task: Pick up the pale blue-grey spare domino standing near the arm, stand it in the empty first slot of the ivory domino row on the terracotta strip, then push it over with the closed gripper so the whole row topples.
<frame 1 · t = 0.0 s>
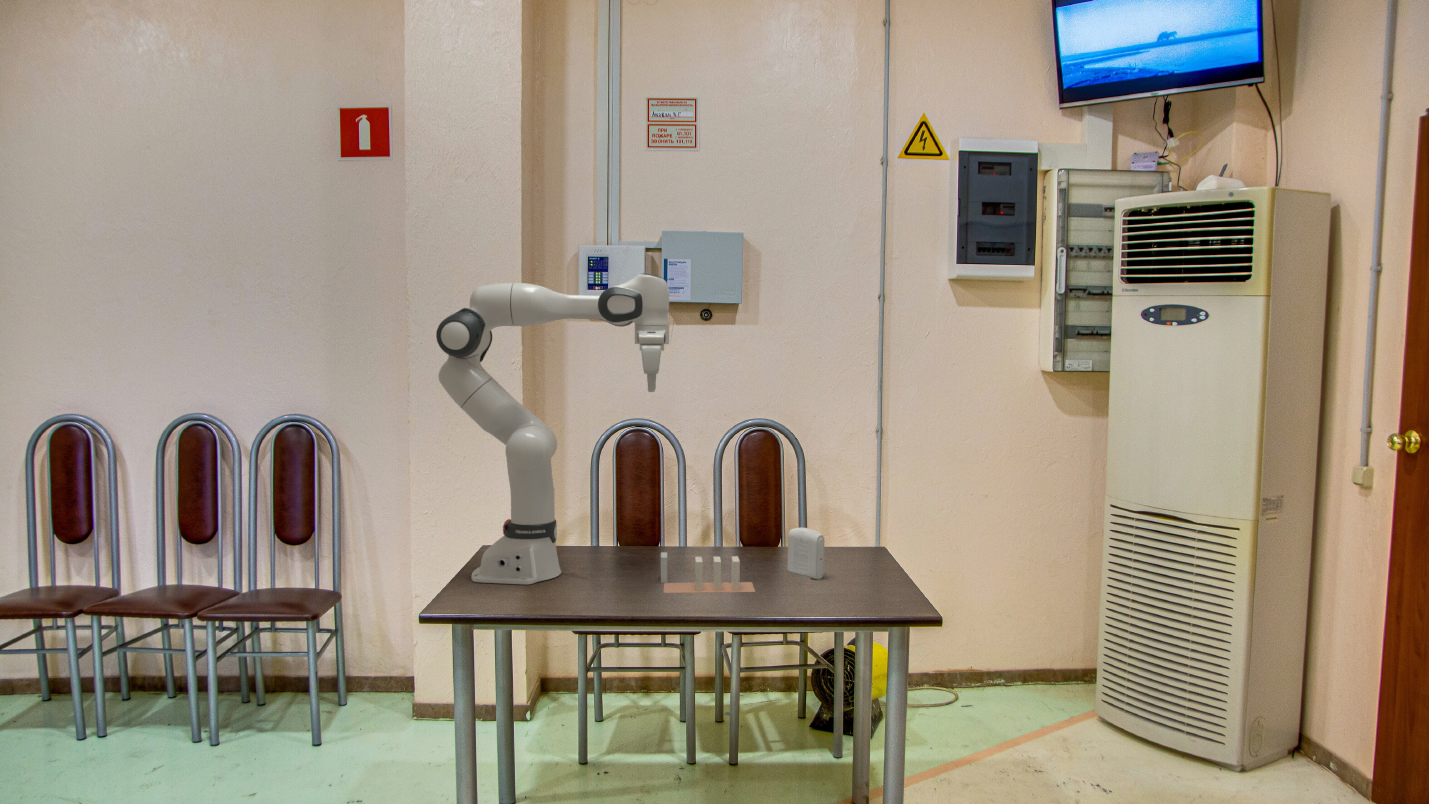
hand: (651, 391, 203), 48 cm above the table, fingers open, 8 cm apart
domino 3: (717, 587, 192), point 1 cm above the table, touching strip
domino 2: (698, 587, 192), point 1 cm above the table, touching strip
spare domino: (664, 582, 198), on the table
strip: (708, 589, 192), on the table
domino 5: (735, 587, 192), point 1 cm above the table, touching strip
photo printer: (805, 575, 205), on the table
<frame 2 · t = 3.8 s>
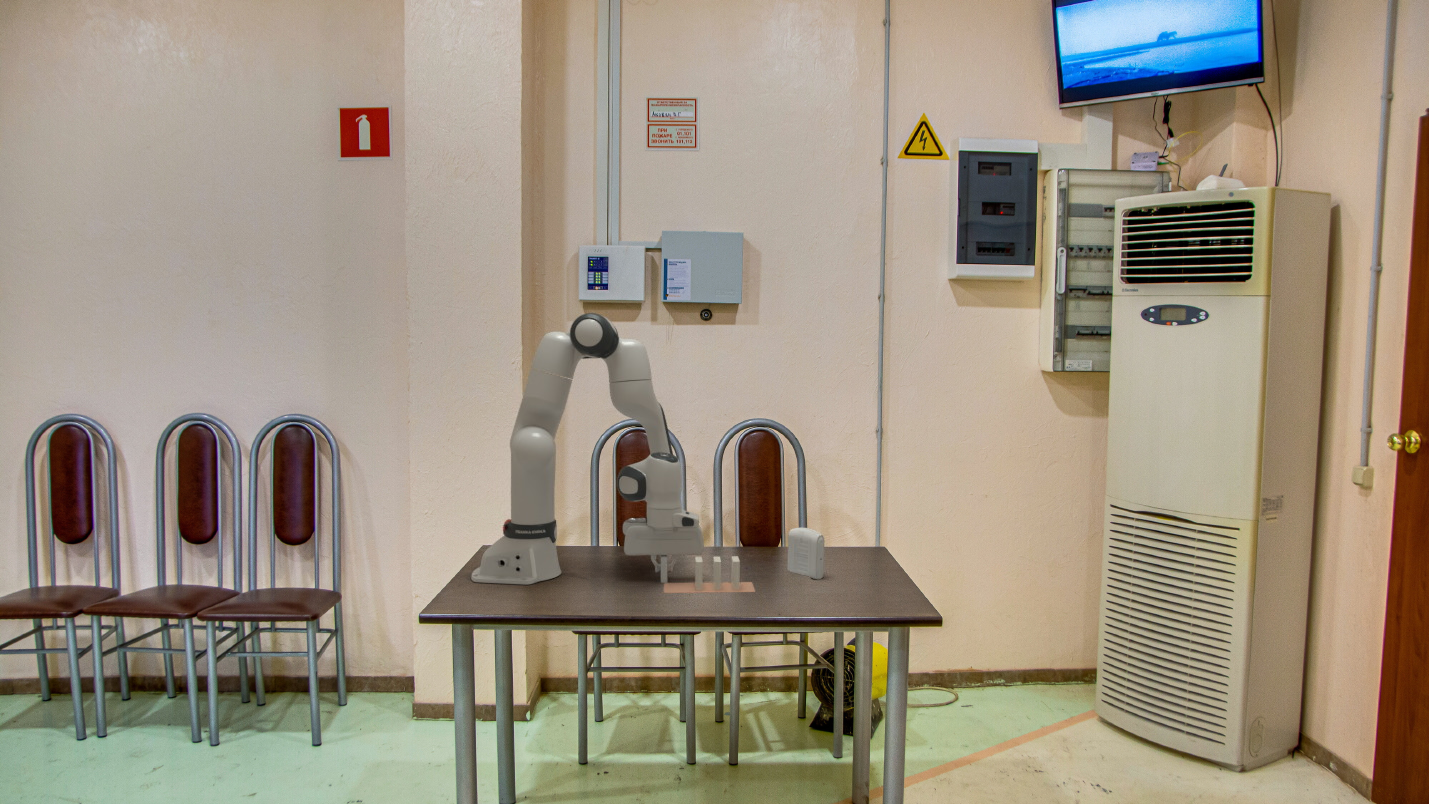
hand: (664, 571, 198), 3 cm above the table, fingers closed on spare domino, 2 cm apart
spare domino: (664, 582, 198), on the table, touching gripper
everything else where it was.
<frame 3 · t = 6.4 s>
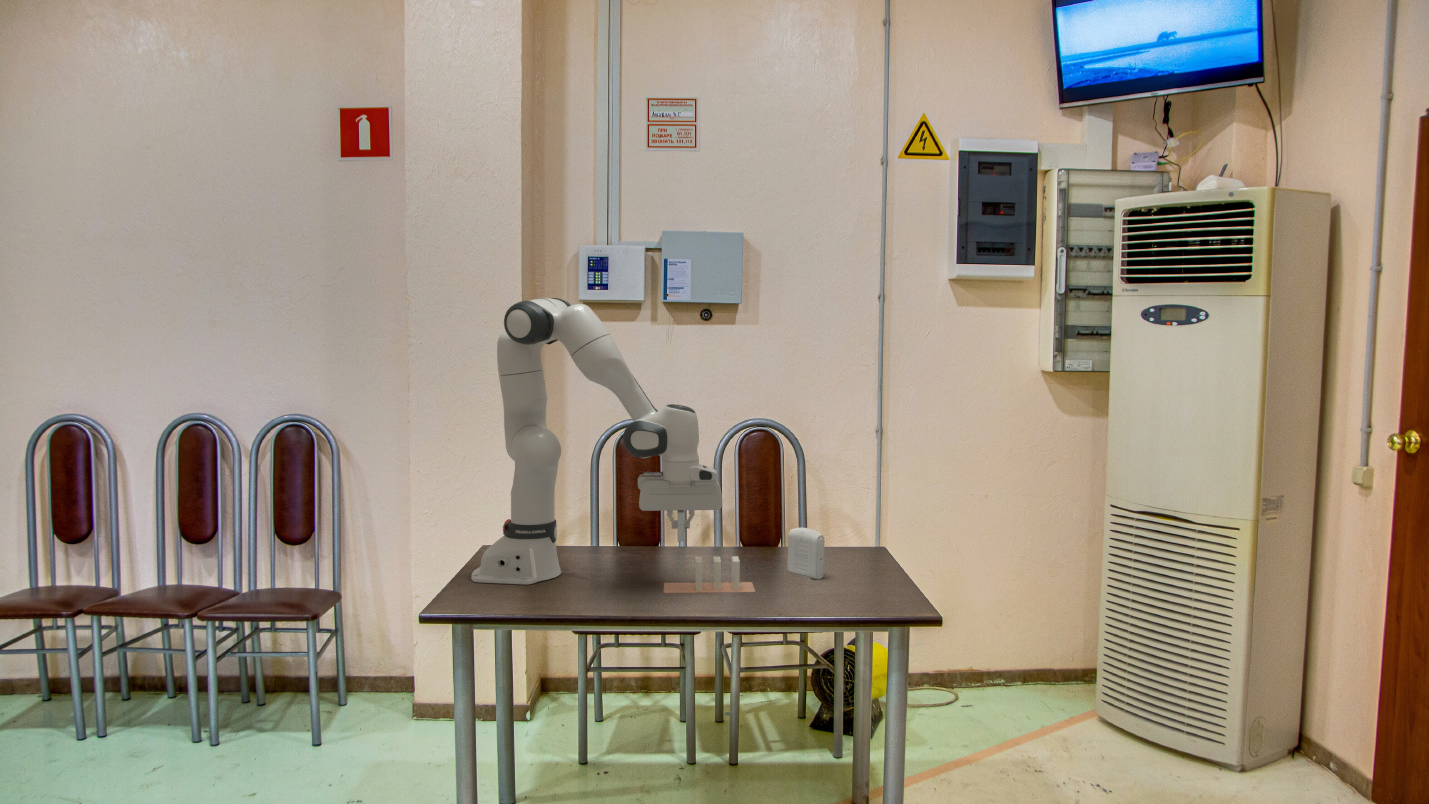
hand: (680, 528, 190), 15 cm above the table, fingers closed on spare domino
spare domino: (680, 538, 191), point 13 cm above the table, touching gripper
everything else where it was.
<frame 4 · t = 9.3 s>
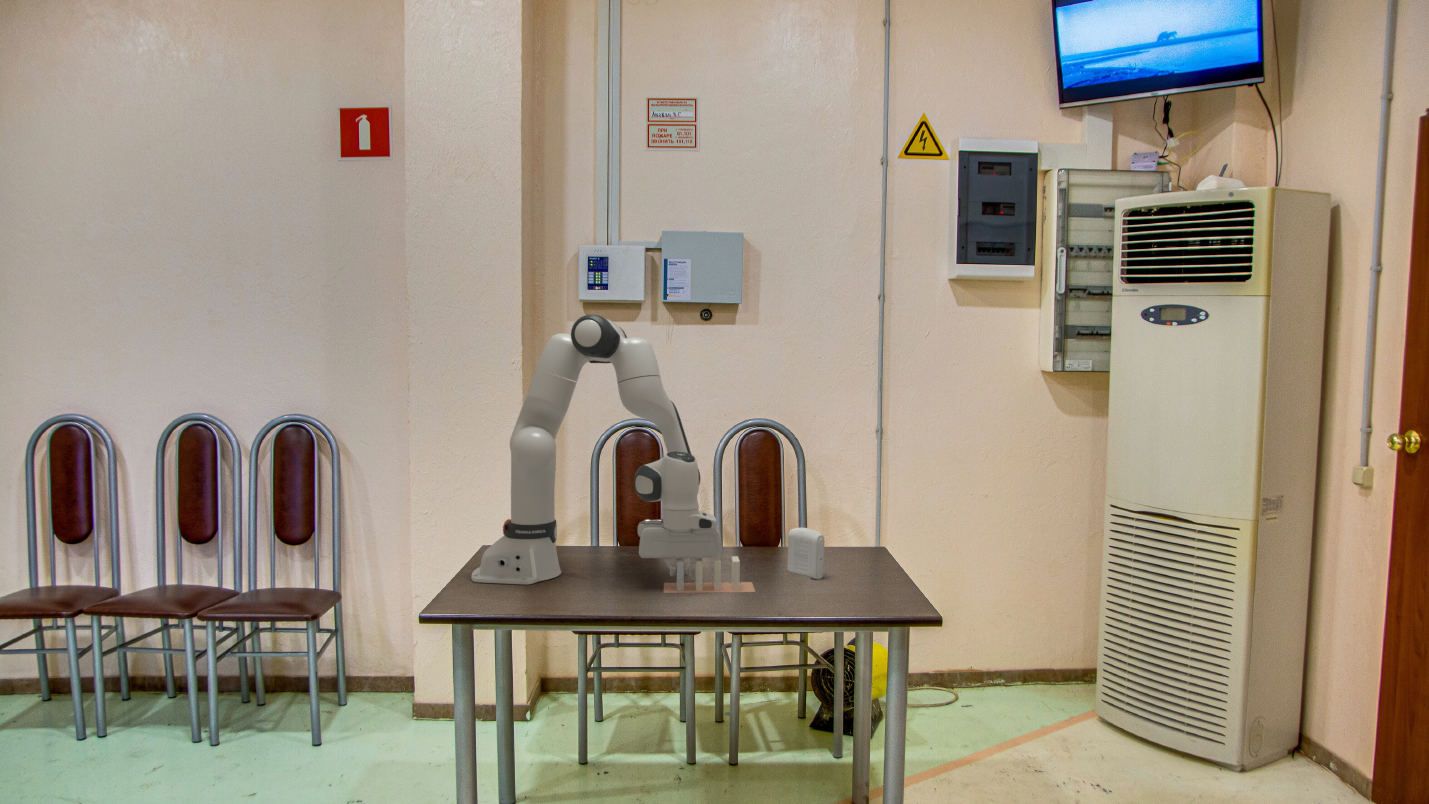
hand: (680, 575, 191), 4 cm above the table, fingers closed
domino 2: (698, 587, 192), point 1 cm above the table, touching gripper, strip
spare domino: (680, 587, 192), point 1 cm above the table, touching strip
everything else where it was.
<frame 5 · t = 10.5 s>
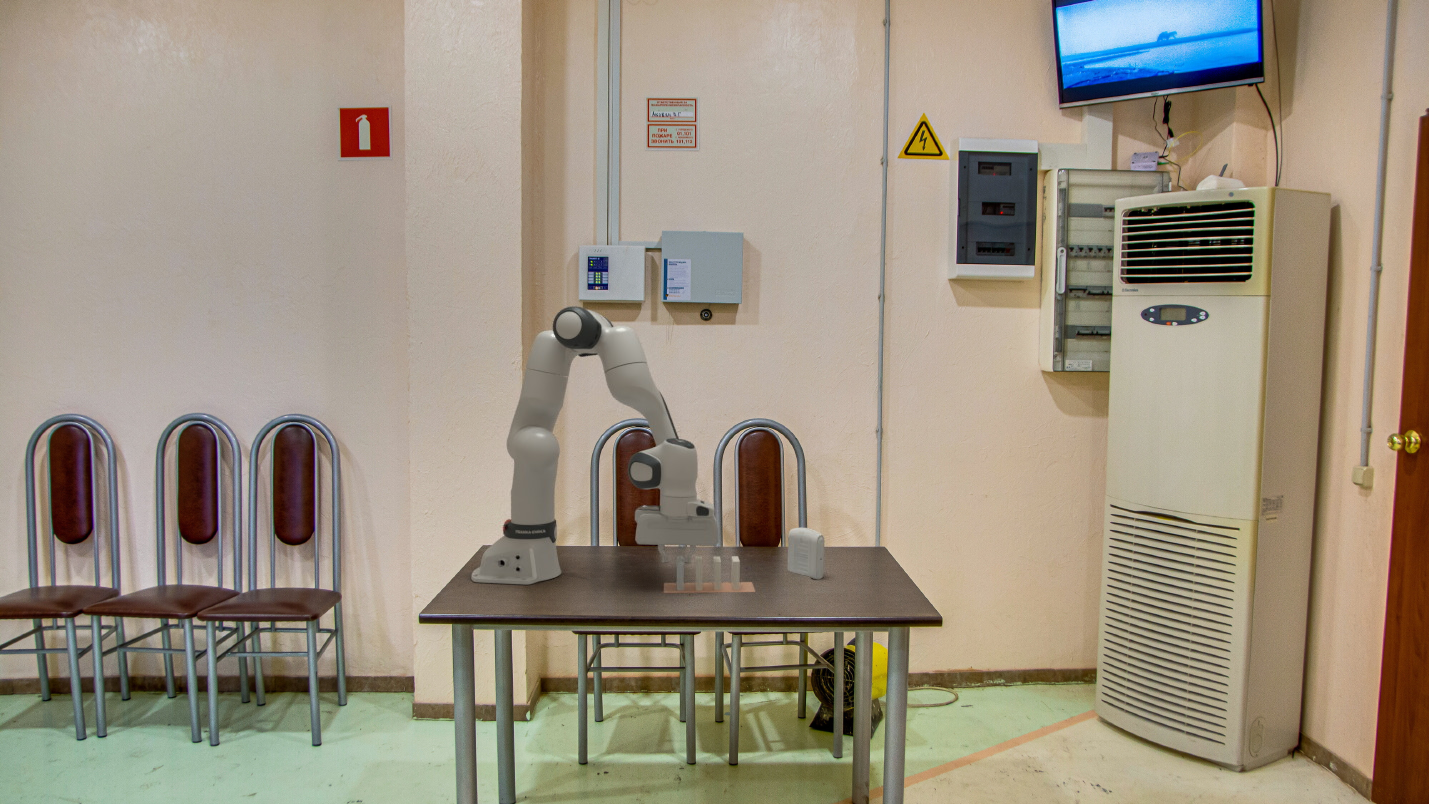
hand: (676, 562, 190), 7 cm above the table, fingers open, 4 cm apart
domino 2: (698, 587, 192), point 1 cm above the table, touching strip
everything else where it was.
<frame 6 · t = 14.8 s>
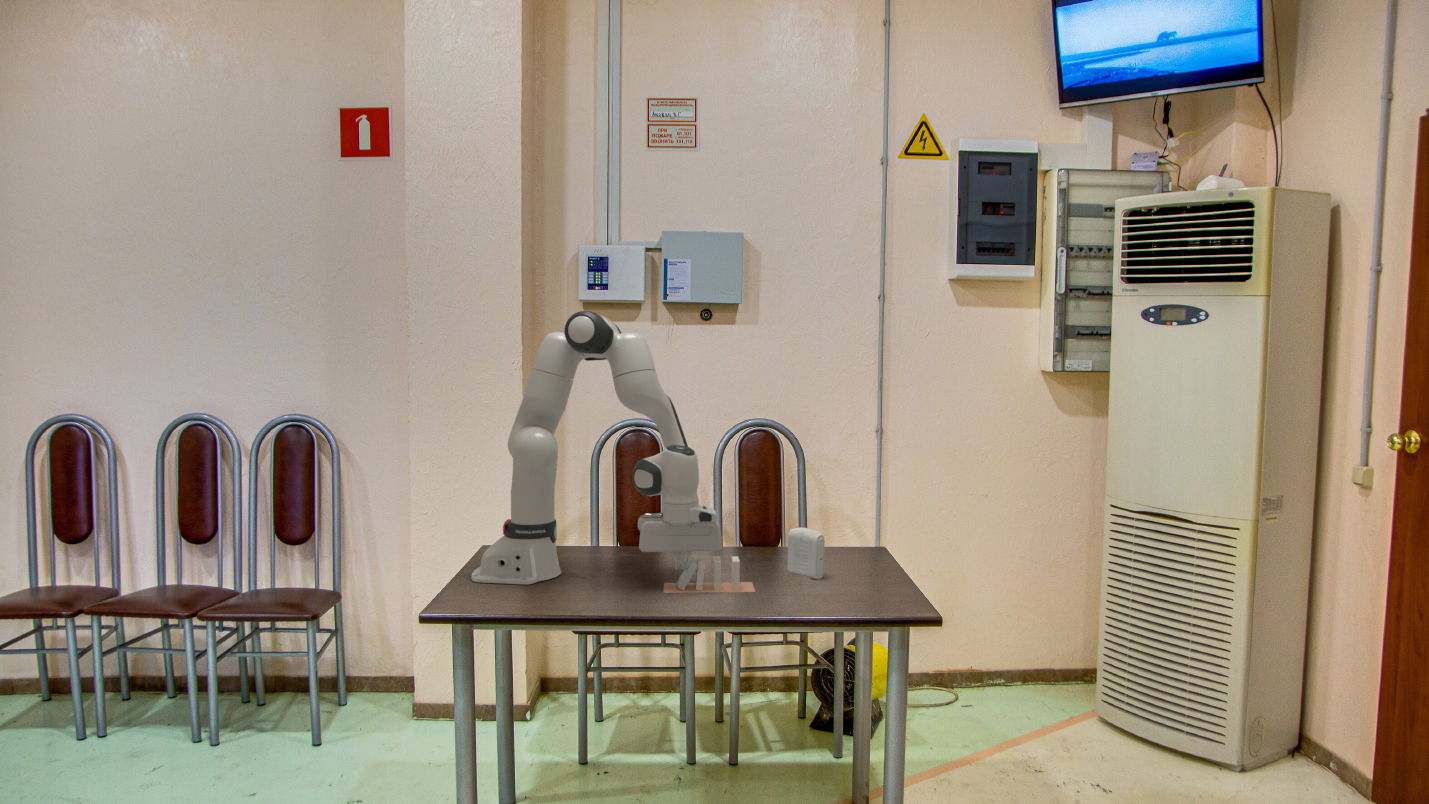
hand: (680, 568, 191), 5 cm above the table, fingers closed
spare domino: (680, 585, 192), point 1 cm above the table, tilted 30°, touching gripper, strip
everything else where it was.
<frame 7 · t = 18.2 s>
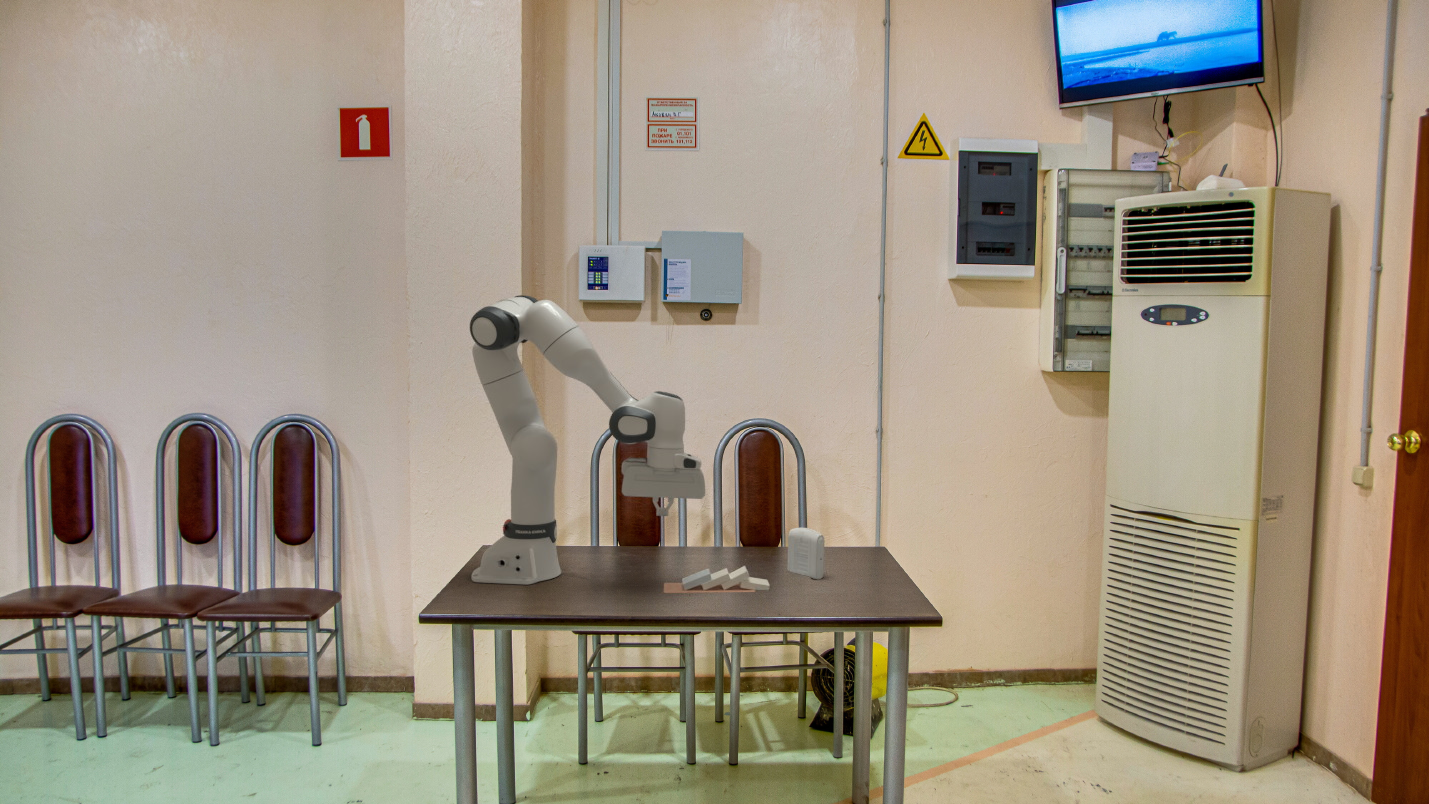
hand: (662, 515, 190), 18 cm above the table, fingers closed
domino 3: (721, 584, 192), point 1 cm above the table, tilted 63°, touching domino 2, domino 5, strip
domino 2: (702, 584, 192), point 1 cm above the table, tilted 68°, touching domino 3, spare domino, strip
spare domino: (683, 584, 192), point 1 cm above the table, tilted 69°, touching domino 2, strip
domino 5: (740, 581, 192), point 2 cm above the table, tilted 100°, touching domino 3, strip
everything else where it was.
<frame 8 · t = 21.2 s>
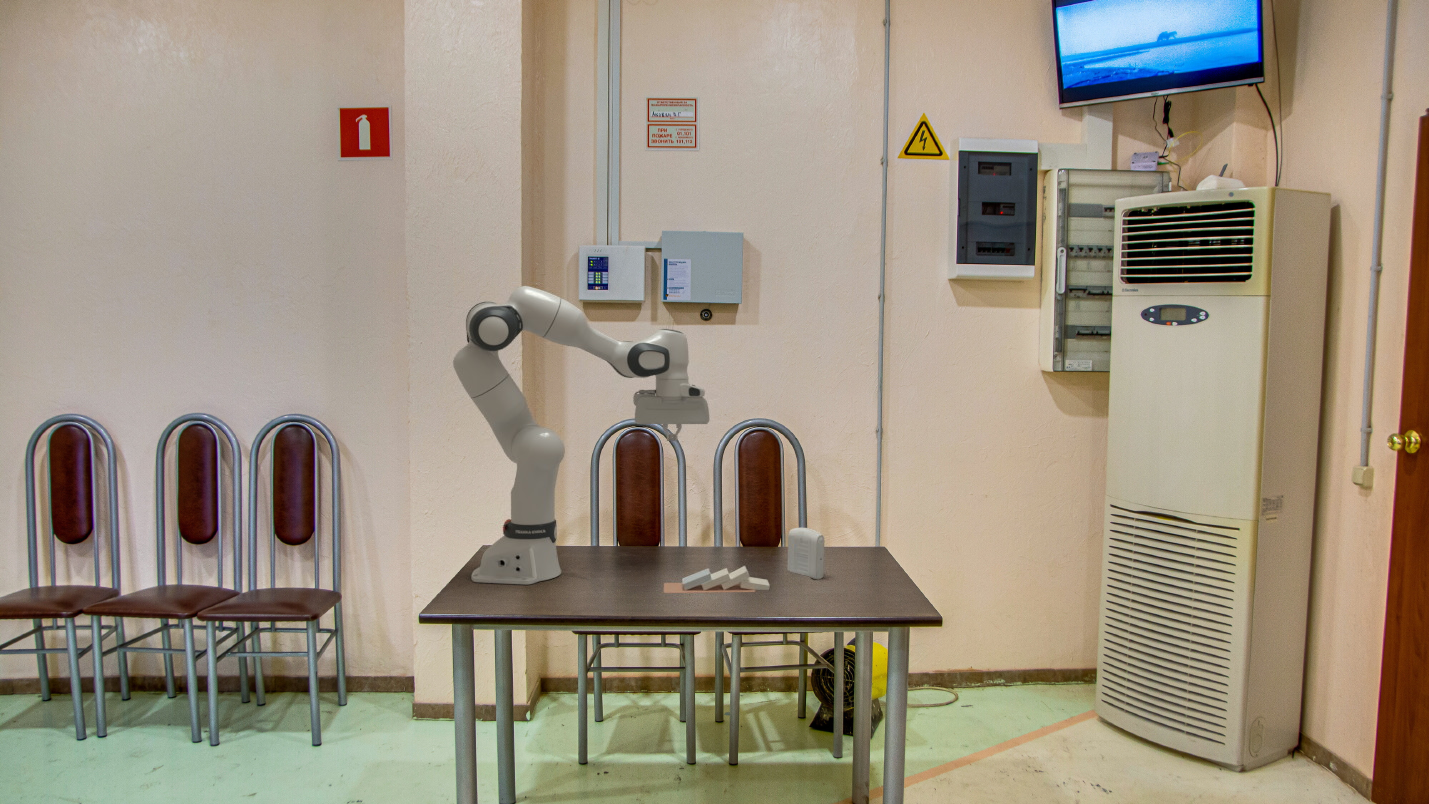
hand: (672, 440, 212), 34 cm above the table, fingers closed
nothing on the table moved.
at the end: domino 5 tilted 100°; spare domino tilted 69°; spare domino inside the target area (1.7 cm from its centre), point 1.3 cm above the table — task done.
